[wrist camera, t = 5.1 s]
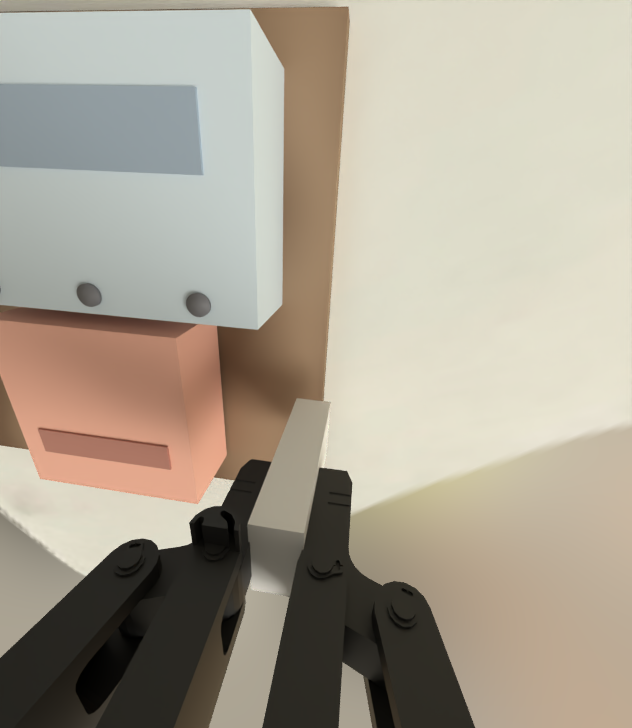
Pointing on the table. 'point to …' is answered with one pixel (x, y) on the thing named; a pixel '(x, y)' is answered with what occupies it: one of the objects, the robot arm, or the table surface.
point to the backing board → (300, 245)
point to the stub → (116, 400)
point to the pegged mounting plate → (142, 165)
